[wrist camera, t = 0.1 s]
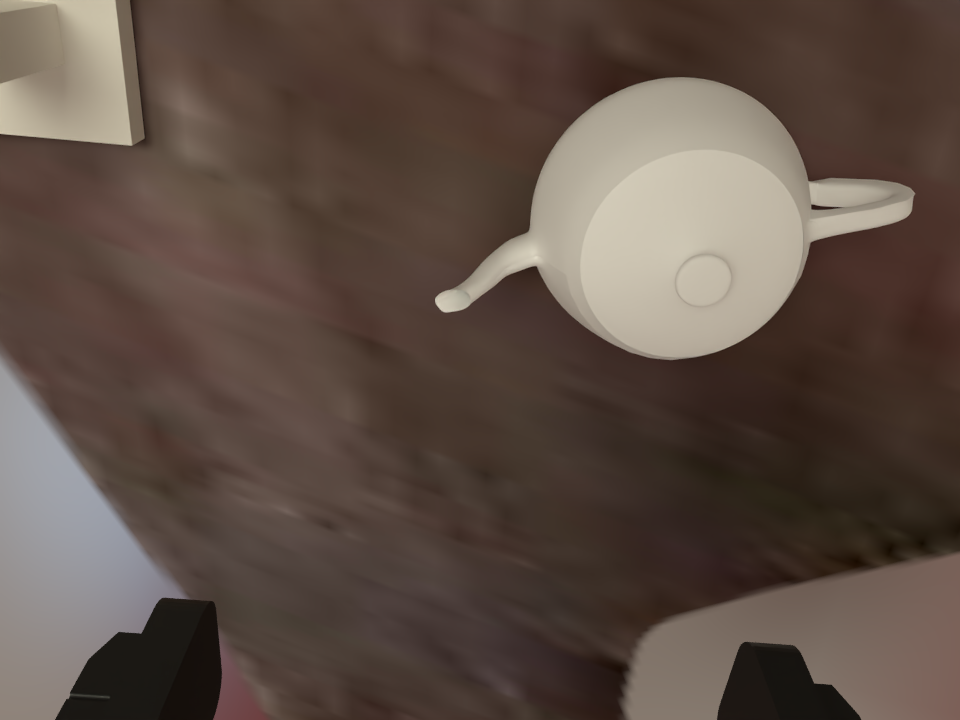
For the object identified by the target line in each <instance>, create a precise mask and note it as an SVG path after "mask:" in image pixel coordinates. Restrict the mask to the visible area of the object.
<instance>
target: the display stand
mask: <svg viewBox="0 0 960 720" xmlns="http://www.w3.org/2000/svg"><path fill="white" fill-rule="evenodd" d="M0 134H9V135H20V136H31V137H42V138H53V139H64V140H75V141H86V142H97V143H108V144H119V145H130V146H133V145H134V144H136V143H138V142H139V141H141V140H143V139H144V138H145V135H144V126H143V117H142V108H141V98H140V89H139V80H138V71H137V61H136V52H135V43H134V34H133V24H132V15H131V6H130V0H0Z"/></svg>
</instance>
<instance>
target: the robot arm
mask: <svg viewBox="0 0 960 720" xmlns="http://www.w3.org/2000/svg"><path fill="white" fill-rule="evenodd" d="M221 679H222V669H221V657H220V646H219V635H218V625H217V614H216V607H215V604H214V602H213V601H201V600H187V599H174V598H162V599H161V600H159V602H158V603H157V604H156V606H155V608H154V610H153V612H152V614H151V616H150V618H149V620H148V622H147V624H146V626H145V628H144V630H143V632H142V634H139V633H125V632H118V633H117V634H116V635H115V636H114V637H113V638H111V640H109V641H108V642H107V643H106V644H105V645H104V646H103V647H102V648H101V649H99V650H98V651H97V652H96V653H95V654H94V655H93V656H92V657H91V658H90V659H89V660H88V661H87V663H86V665H85V667H84V669H83V670H82V672H81V674H80V676H79V677H78V679H77V681H76V683H75V685H74V686H73V688H72V690H71V692H70V697H69V699H66V701H65V703H64V705H63V706H62V708H61V710H60V712H59V714H58V716H57V717H56V719H55V720H213V718H214V715H215V712H216V709H217V705H218V700H219V695H220V688H221ZM717 720H861V718H860V716H859V715H858V714H857V713H856V712H855V710H853V708H852V707H851V706H850V705H849V704H848V703H847V701H846V700H845V699H844V698H843V697H842V696H841V695H840V694H839V693H838V691H837V690H836V689H835V688H834V687H833V686H832V685H826V684H814V682H813V680H812V678H811V675H810V673H809V671H808V668H807V666H806V664H805V661H804V659H803V657H802V655H801V653H800V651H799V650H798V649H797V648H796V647H795V646H793V645H781V644H767V643H753V642H752V643H751V642H744V643H743V644H741V646H740V647H739V650H738V652H737V655H736V658H735V661H734V665H733V667H732V670H731V673H730V676H729V679H728V682H727V685H726V688H725V691H724V694H723V697H722V700H721V703H720V706H719V710H718V717H717Z"/></svg>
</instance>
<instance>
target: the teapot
mask: <svg viewBox="0 0 960 720" xmlns="http://www.w3.org/2000/svg"><path fill="white" fill-rule="evenodd" d="M914 195H915V193H914V192H913V191H912V189H911V188H909V187H907V186H904V185H902V184H899V183H894V182H888V181H881V180H871V179H844V178H828V179H823V180H817V181H812V182H811V181H808V178H807V173H806V170H805V167H804V163H803V161H802V158H801V155H800V153H799V151H798V149H797V147H796V145H795V143H794V141H793V139H792V137H791V136H790V134H789V133H788V131H787V130H786V128H785V127H784V126H783V125H782V123H781V122H780V121H779V120H778V119H777V118H776V116H775V115H774V114H773V113H772V112H770V111H769V110H768V109H767V108H766V107H765V106H764V105H762V104H761V103H760V102H758V101H757V100H755V99H754V98H752V97H751V96H749V95H747V94H746V93H744V92H742V91H740V90H738V89H735V88H733V87H731V86H728V85H725V84H722V83H719V82H715V81H711V80H706V79H699V78H689V77H673V78H662V79H656V80H651V81H646V82H642V83H639V84H636V85H633V86H630V87H627V88H625V89H622V90H620V91H618V92H616V93H614V94H612V95H610V96H608V97H606V98H605V99H603V100H601V101H600V102H598V103H597V104H595V105H594V106H592V107H591V108H590V109H588V110H587V111H586V112H585V113H583V114H582V115H581V116H580V117H579V118H578V119H577V120H576V121H575V122H574V123H573V124H572V125H571V126H570V127H569V128H568V129H567V130H566V131H565V133H564V134H563V135H562V136H561V138H560V139H559V140H558V142H557V143H556V144H555V146H554V148H553V149H552V151H551V152H550V154H549V156H548V158H547V160H546V162H545V164H544V166H543V168H542V170H541V173H540V175H539V178H538V181H537V184H536V188H535V191H534V196H533V201H532V208H531V218H530V229H529V231H528V232H527V233H525V234H523V235H520V236H517V237H515V238H512V239H510V240H509V241H507V242H506V243H504V244H503V245H501V246H500V247H499V248H498V249H496V250H495V251H494V252H493V253H492V254H491V255H490V256H488V257H487V258H486V259H485V260H484V261H483V262H482V263H481V264H480V266H479V267H478V268H477V269H476V270H475V271H474V272H473V274H472V275H471V276H470V277H469V278H468V279H467V280H466V281H464V282H463V283H462V284H460V285H459V286H457V287H455V288H453V289H451V290H447V291H444V292H442V293H440V294H439V295H438V296H437V297H436V299H435V302H436V304H437V306H438V307H439V308H440V310H442V311H443V312H453V311H459V310H462V309H465V308H467V307H468V306H469V305H470V304H471V303H472V302H474V301H475V300H476V299H478V298H479V297H480V296H481V295H483V294H484V293H485V292H487V291H488V290H490V289H491V288H492V287H494V286H495V285H496V284H497V283H498V282H499V281H501V280H502V279H503V278H504V277H506V276H507V275H510V274H512V273H515V272H518V271H521V270H523V269H526V268H529V267H532V266H537V268H538V270H539V273H540V275H541V277H542V278H543V280H544V282H545V284H546V285H547V287H548V289H549V290H550V292H551V293H552V294H553V296H554V297H555V298H556V300H557V301H558V302H559V303H560V305H561V306H562V307H563V308H564V309H565V310H566V311H567V312H568V313H569V314H570V315H571V316H572V317H573V318H575V319H576V320H577V321H578V322H579V323H581V324H582V325H583V326H585V327H586V328H587V329H589V330H590V331H592V332H593V333H595V334H596V335H598V336H599V337H601V338H603V339H604V340H606V341H608V342H610V343H612V344H614V345H616V346H618V347H620V348H622V349H624V350H626V351H628V352H631V353H634V354H638V355H642V356H645V357H649V358H656V359H666V360H675V359H684V358H692V357H699V356H703V355H708V354H711V353H715V352H718V351H721V350H723V349H726V348H728V347H730V346H732V345H735V344H737V343H738V342H740V341H742V340H744V339H745V338H747V337H749V336H750V335H752V334H753V333H754V332H756V331H757V330H758V329H760V328H761V327H762V326H763V325H764V324H765V323H767V322H768V321H769V320H770V319H771V318H772V317H773V316H774V315H775V313H776V312H777V311H778V310H779V309H780V308H781V306H782V305H783V304H784V302H785V301H786V300H787V298H788V297H789V295H790V294H791V292H792V290H793V289H794V287H795V285H796V283H797V282H798V280H799V278H800V277H801V275H802V272H803V269H804V265H805V262H806V259H807V256H808V251H809V247H810V243H811V242H813V241H815V240H818V239H822V238H826V237H830V236H835V235H840V234H845V233H850V232H855V231H860V230H866V229H871V228H875V227H880V226H884V225H888V224H892V223H895V222H898V221H900V220H903V219H905V218H906V217H908V216H909V215H910V213H911V211H912V205H913V197H914ZM811 204H813V205H817V206H829V207H845V208H838V209H829V210H811Z"/></svg>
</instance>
